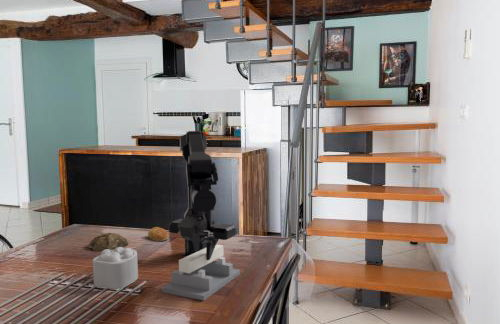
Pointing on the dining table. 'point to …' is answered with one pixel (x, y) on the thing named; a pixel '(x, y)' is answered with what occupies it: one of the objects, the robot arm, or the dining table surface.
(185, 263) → the clay strip
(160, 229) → the pastry
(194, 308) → the dining table surface
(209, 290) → the grey pegged plate
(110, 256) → the white lego brick
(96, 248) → the mottled brown rock
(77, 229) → the dining table surface
